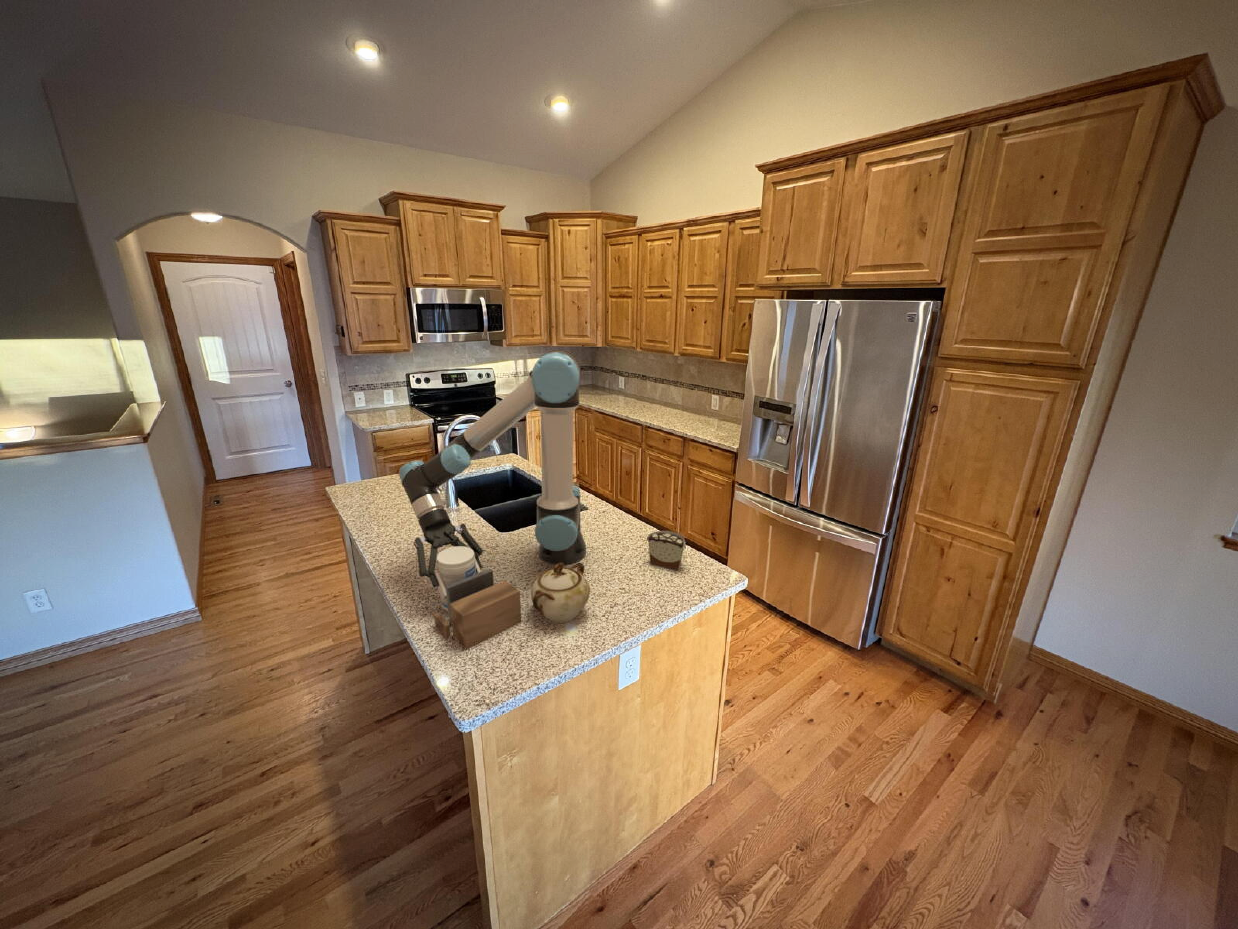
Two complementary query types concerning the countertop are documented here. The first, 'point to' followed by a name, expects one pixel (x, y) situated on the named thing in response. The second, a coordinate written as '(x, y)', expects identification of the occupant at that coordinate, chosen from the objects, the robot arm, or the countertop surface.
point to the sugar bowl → (561, 592)
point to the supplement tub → (455, 566)
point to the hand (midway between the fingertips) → (464, 589)
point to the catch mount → (482, 614)
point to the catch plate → (468, 586)
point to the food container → (666, 549)
